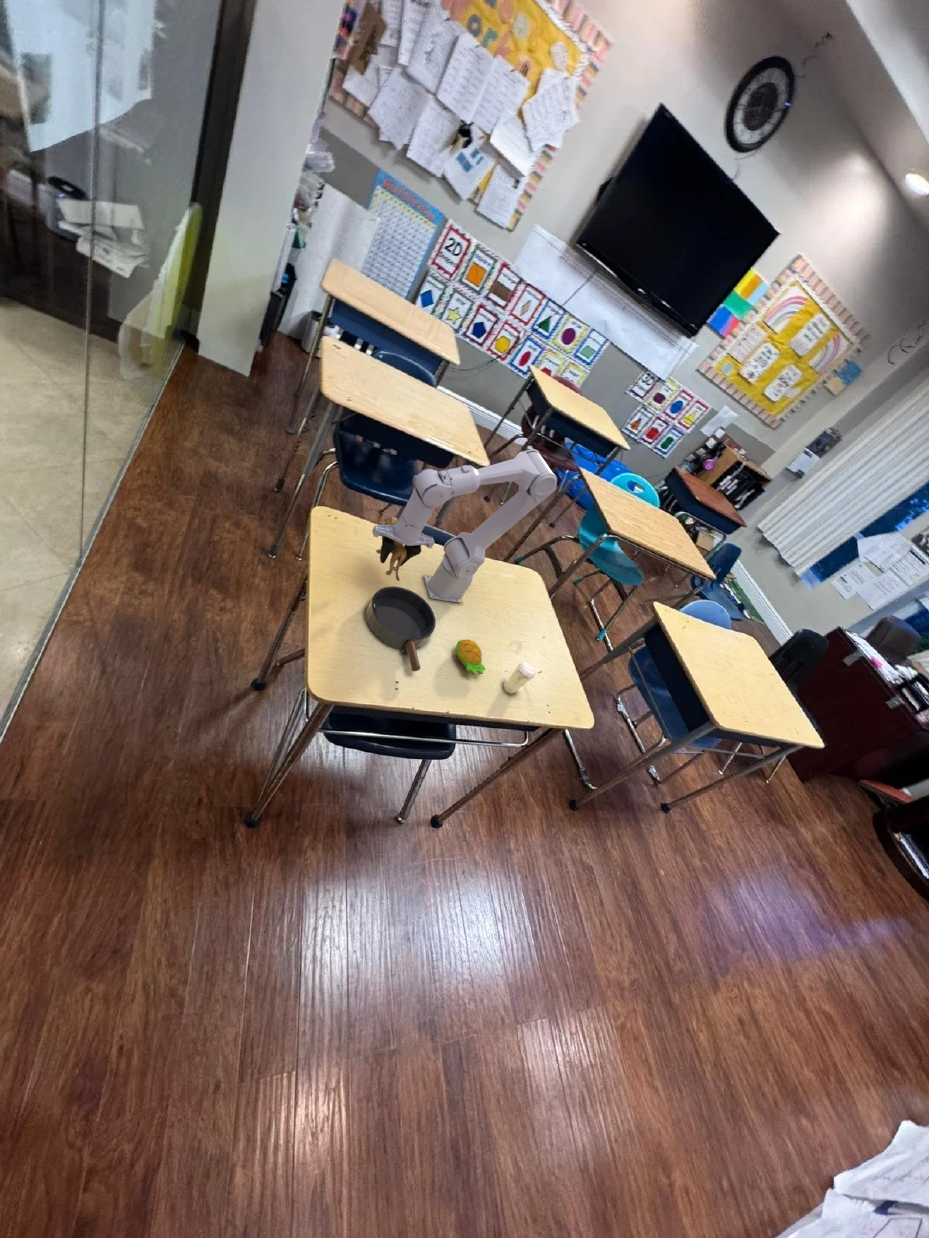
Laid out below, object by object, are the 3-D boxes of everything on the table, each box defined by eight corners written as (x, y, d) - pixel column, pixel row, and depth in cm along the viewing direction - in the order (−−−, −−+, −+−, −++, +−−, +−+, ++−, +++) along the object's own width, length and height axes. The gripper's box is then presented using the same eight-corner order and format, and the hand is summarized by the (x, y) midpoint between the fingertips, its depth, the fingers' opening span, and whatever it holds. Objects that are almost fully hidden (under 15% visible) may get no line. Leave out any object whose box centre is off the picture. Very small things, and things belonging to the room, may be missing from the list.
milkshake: (518, 700, 126) (541, 678, 120) (499, 691, 125) (522, 668, 119) (520, 687, 130) (542, 664, 123) (502, 677, 129) (523, 654, 122)
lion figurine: (365, 539, 125) (383, 510, 121) (382, 543, 129) (401, 515, 125) (389, 581, 118) (409, 552, 114) (406, 584, 122) (427, 556, 118)
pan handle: (400, 649, 118) (407, 639, 116) (408, 650, 119) (415, 639, 117) (406, 676, 114) (413, 665, 111) (414, 676, 115) (421, 666, 113)
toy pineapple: (469, 646, 130) (479, 633, 127) (484, 679, 125) (495, 667, 122) (446, 646, 126) (456, 633, 123) (461, 681, 121) (472, 668, 118)
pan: (420, 601, 132) (427, 591, 130) (435, 652, 123) (442, 642, 120) (361, 593, 124) (366, 581, 121) (371, 647, 114) (377, 636, 112)
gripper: (438, 514, 120) (414, 555, 129) (380, 500, 113) (359, 544, 121) (445, 535, 116) (420, 575, 125) (385, 521, 109) (363, 565, 117)
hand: (390, 561), depth 123 cm, fingers closed on lion figurine, 4 cm apart
